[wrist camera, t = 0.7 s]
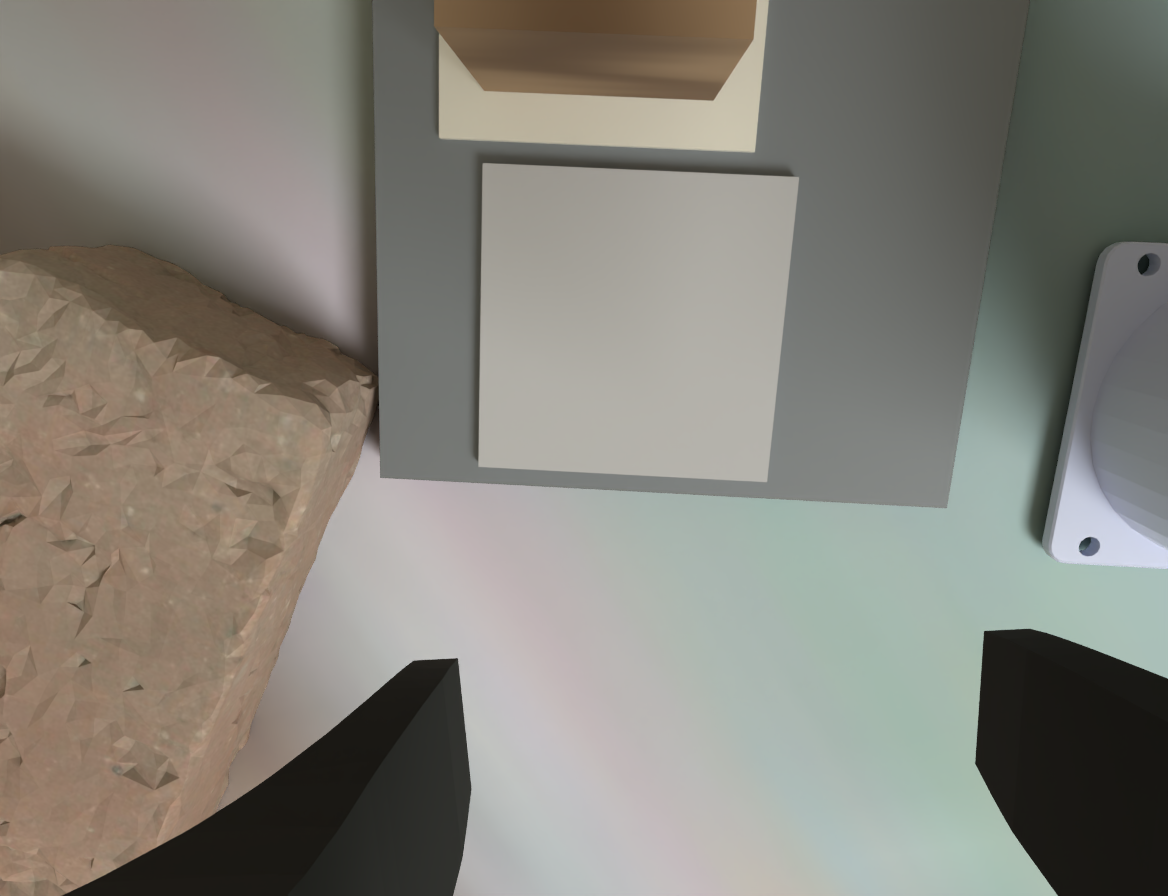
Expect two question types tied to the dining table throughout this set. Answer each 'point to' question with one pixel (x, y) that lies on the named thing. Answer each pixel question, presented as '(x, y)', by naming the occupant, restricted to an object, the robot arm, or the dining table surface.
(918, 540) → the dining table surface
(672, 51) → the walnut block
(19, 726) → the brick
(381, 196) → the board
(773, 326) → the pad
